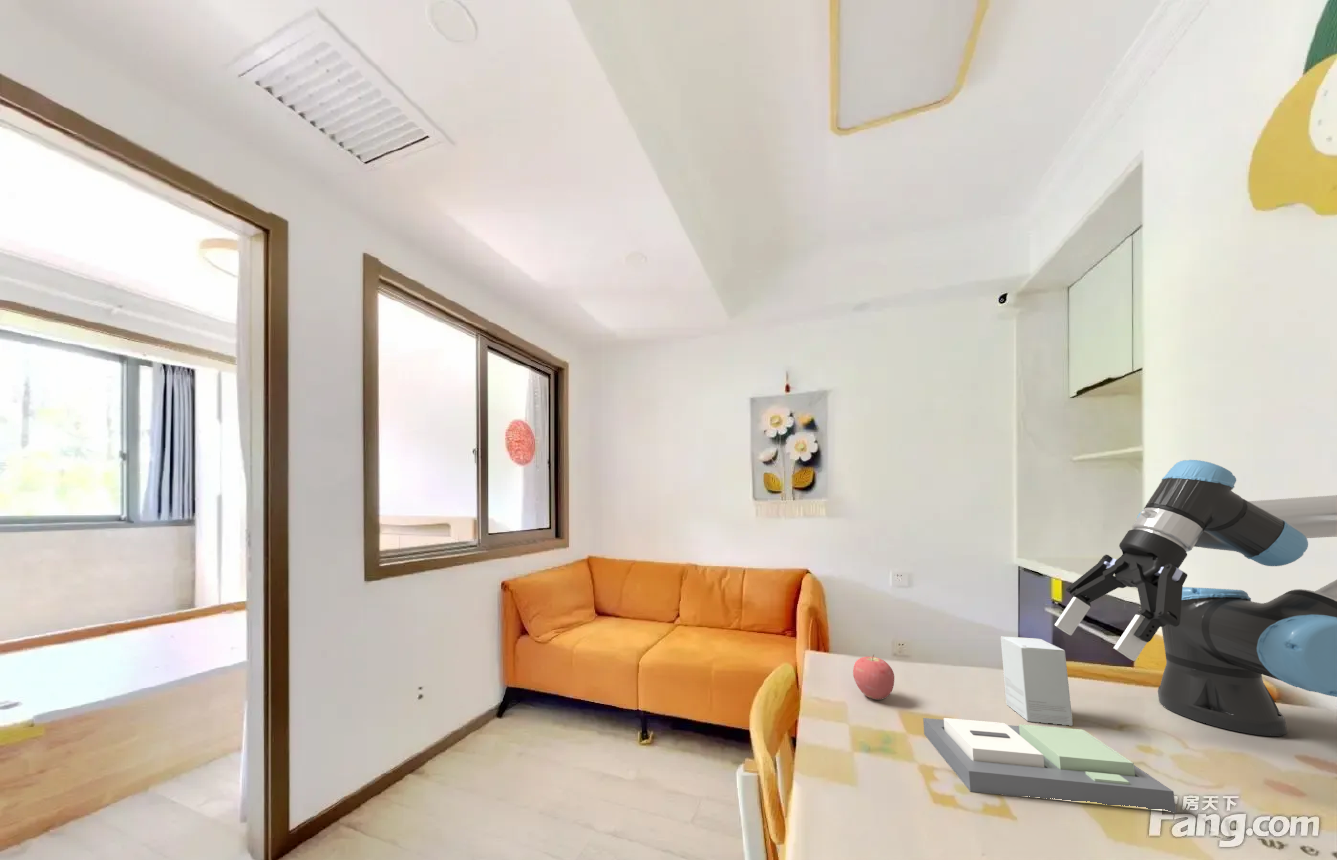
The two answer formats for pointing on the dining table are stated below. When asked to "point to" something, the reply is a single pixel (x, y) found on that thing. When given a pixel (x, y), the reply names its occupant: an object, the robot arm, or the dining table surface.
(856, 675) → the apple
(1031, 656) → the supplement box
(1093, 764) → the key
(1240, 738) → the dining table surface
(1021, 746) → the grey flat rectangular block
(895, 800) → the dining table surface
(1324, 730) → the dining table surface
